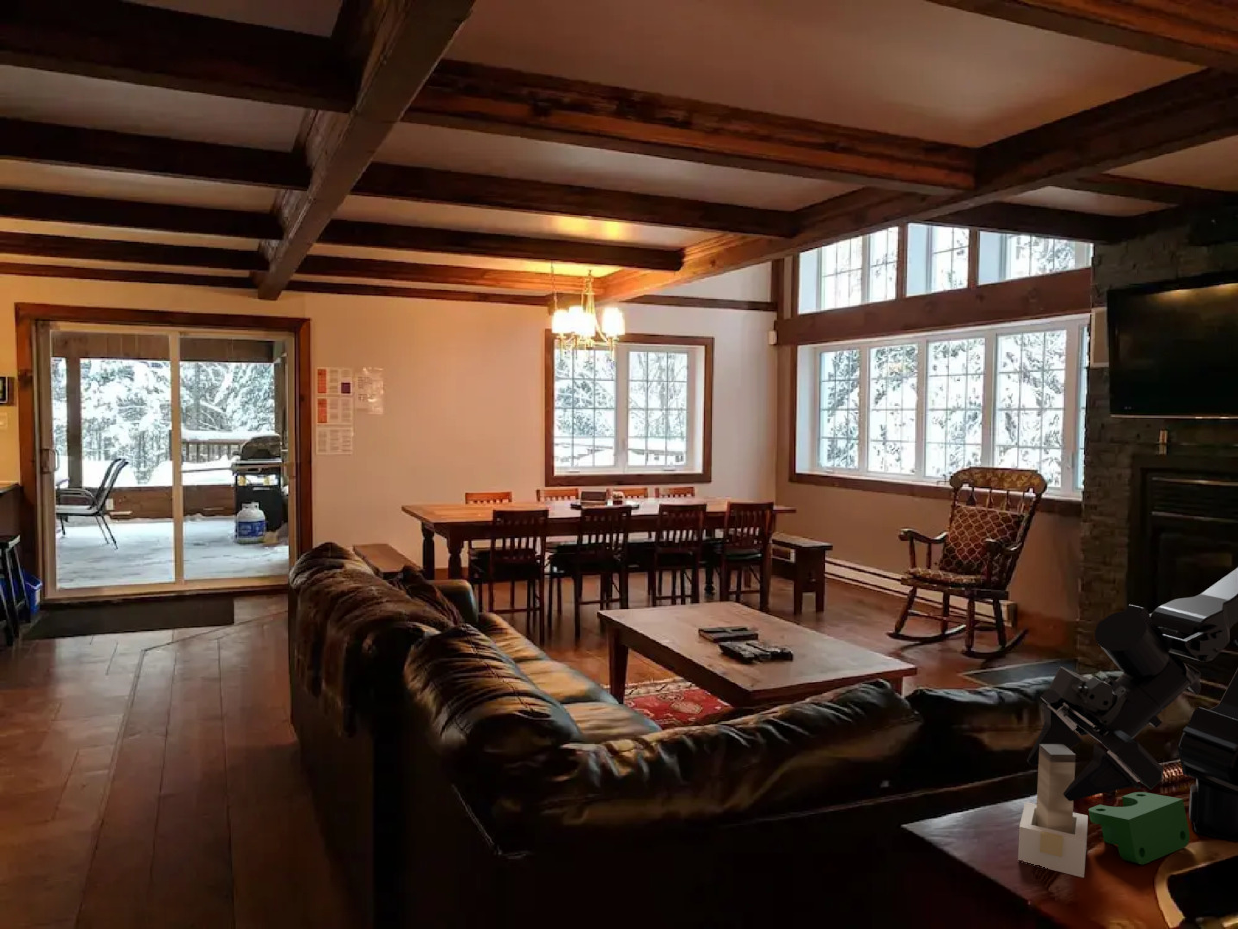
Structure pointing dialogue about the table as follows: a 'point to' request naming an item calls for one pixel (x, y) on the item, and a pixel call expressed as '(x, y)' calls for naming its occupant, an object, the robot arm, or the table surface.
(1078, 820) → the white labeled box
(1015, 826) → the table surface
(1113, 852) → the table surface
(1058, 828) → the tall wooden post
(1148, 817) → the clamp
